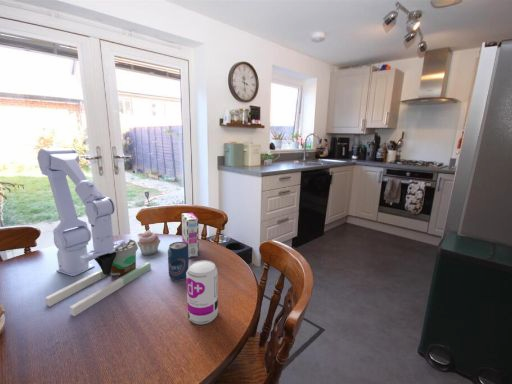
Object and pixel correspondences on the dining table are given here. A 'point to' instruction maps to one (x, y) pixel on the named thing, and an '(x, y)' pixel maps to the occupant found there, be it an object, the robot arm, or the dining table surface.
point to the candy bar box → (190, 233)
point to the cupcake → (148, 243)
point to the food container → (124, 259)
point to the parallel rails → (98, 294)
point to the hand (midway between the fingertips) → (106, 273)
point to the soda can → (178, 260)
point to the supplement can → (202, 292)
